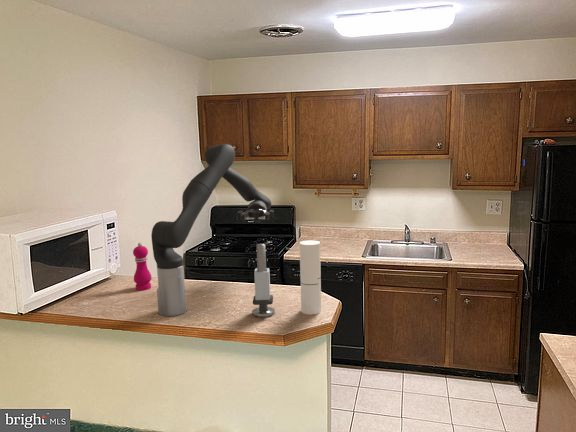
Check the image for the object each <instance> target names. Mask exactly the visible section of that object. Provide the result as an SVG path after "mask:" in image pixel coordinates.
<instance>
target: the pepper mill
mask: <svg viewBox="0 0 576 432" xmlns="http://www.w3.org/2000/svg"><path fill="white" fill-rule="evenodd" d="M132 254H133V257H134V262H135V263H136V269H135V271H134V276H133V282H134V283H135V290H136V291H147V289H148V290H151V288H152V283H151V281H152V274H151V272H150V270H149V269H148V263H147V261H148V254H149V250H148V248H147V247H146V246H143V243H142V242H138V243H137V246H136V247H134V248H133V250H132Z"/></svg>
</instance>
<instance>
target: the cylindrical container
mask: <svg viewBox="0 0 576 432" xmlns="http://www.w3.org/2000/svg"><path fill="white" fill-rule="evenodd" d="M299 267H300V268H299V271H300V275H299V276H300V310H301V311H300V312H301V313H302V314H303V315H308V314H309V316H310V314H311V316H312V314H314V315H317V314H318V315H319V314H320V313H321V312H322V286H321V285H322V281H321V280H322V279H321V278H322V277H321V274H322V273H321V270H322V269H321V268H322V267H321V241H318V240H309V239H308V240H301V241H300V242H299Z"/></svg>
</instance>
